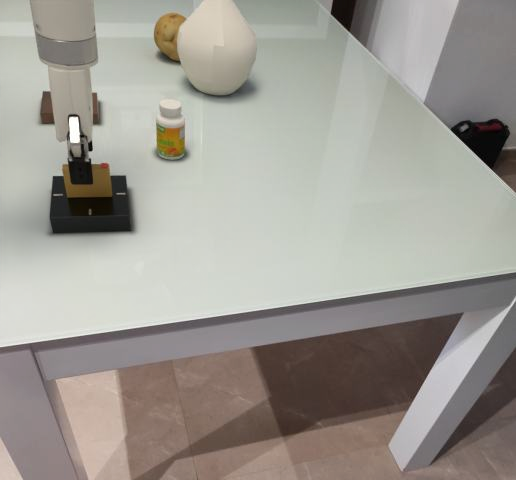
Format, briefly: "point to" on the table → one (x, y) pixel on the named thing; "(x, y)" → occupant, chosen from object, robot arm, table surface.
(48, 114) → the brown square block
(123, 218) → the dial pointer knob base
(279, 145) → the table surface
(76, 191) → the dial pointer knob
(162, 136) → the supplement bottle
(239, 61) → the vase
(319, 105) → the table surface
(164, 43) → the potato
